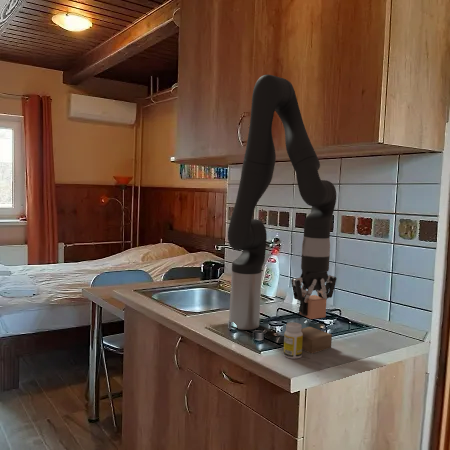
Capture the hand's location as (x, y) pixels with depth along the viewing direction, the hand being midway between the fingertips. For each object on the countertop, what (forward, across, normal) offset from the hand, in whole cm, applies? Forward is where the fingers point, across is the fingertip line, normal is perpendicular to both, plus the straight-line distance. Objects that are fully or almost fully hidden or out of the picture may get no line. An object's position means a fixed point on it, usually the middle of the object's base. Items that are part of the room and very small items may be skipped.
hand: (312, 313), depth 129 cm
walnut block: (+10, 0, 0) cm, 10 cm away
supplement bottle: (+9, +9, +4) cm, 14 cm away
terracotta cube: (0, 0, 0) cm, 0 cm away
